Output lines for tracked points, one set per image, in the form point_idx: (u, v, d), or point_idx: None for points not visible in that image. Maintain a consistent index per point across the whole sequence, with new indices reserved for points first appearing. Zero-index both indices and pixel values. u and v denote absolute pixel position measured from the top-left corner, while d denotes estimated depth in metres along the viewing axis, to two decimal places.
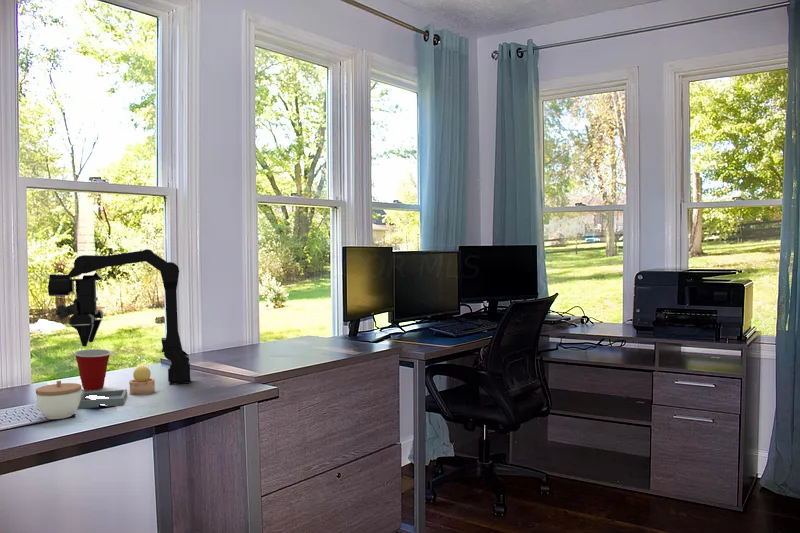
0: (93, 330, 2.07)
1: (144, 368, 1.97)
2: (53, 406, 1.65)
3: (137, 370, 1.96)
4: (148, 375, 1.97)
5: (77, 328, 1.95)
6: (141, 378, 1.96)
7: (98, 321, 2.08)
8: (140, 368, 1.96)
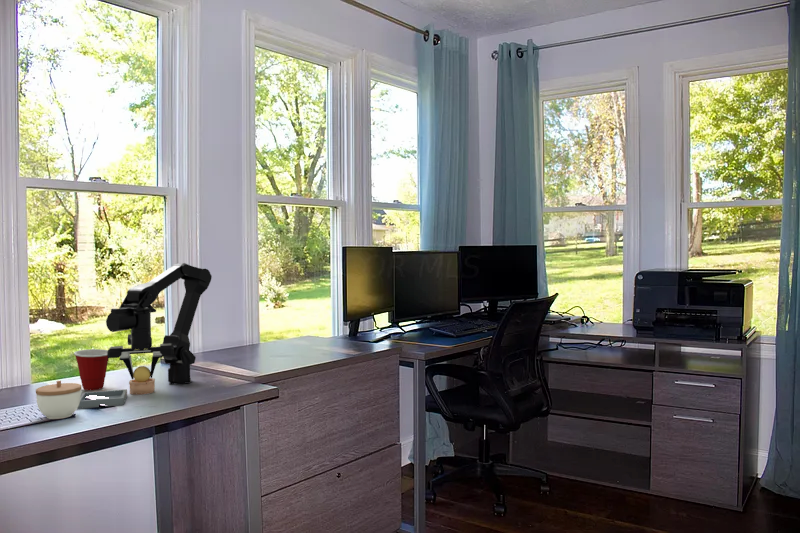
0: (151, 366, 1.98)
1: (144, 368, 1.97)
2: (53, 406, 1.65)
3: (137, 370, 1.96)
4: (148, 375, 1.97)
5: None
6: (141, 378, 1.96)
7: (152, 357, 1.96)
8: (140, 368, 1.96)
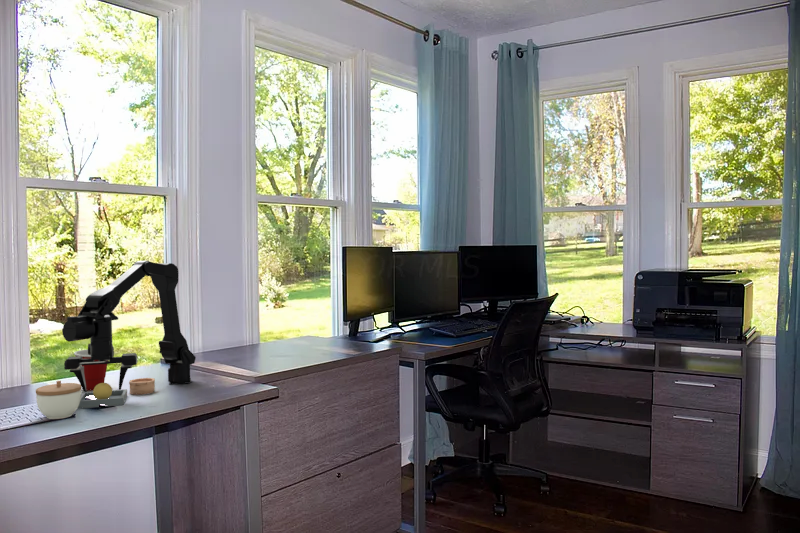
0: None
1: (105, 385, 1.84)
2: (53, 406, 1.65)
3: (97, 387, 1.83)
4: (109, 392, 1.84)
5: None
6: (101, 395, 1.83)
7: None
8: (100, 385, 1.84)
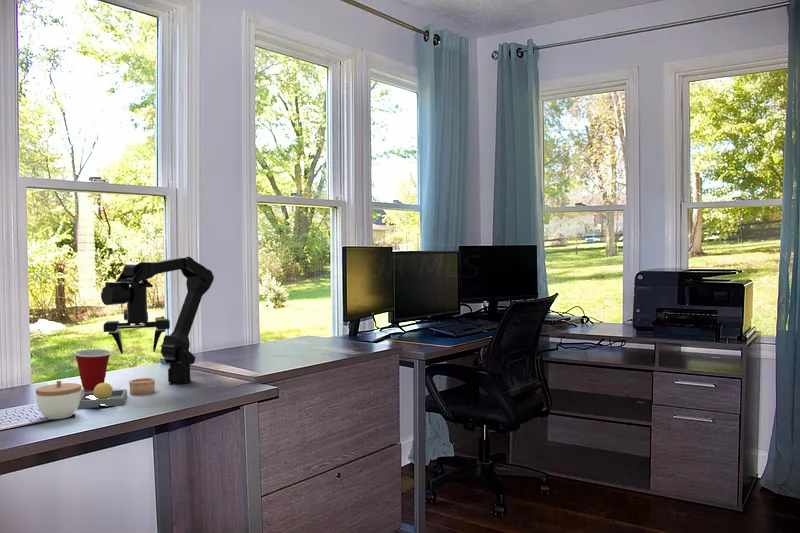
0: (154, 340, 1.99)
1: (105, 385, 1.84)
2: (53, 406, 1.65)
3: (98, 387, 1.83)
4: (109, 393, 1.84)
5: None
6: (101, 395, 1.83)
7: None
8: (101, 385, 1.84)
